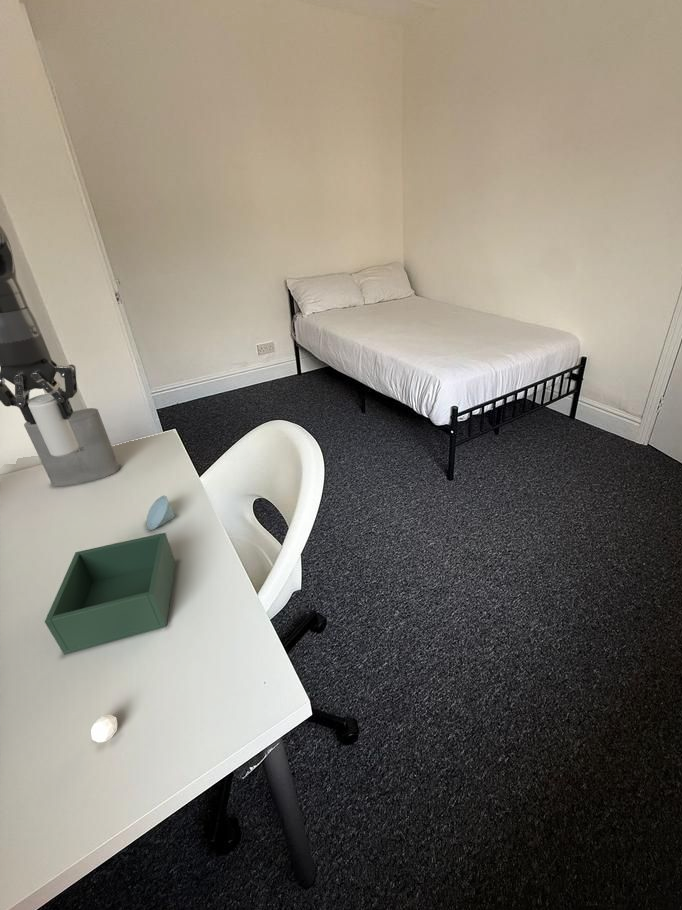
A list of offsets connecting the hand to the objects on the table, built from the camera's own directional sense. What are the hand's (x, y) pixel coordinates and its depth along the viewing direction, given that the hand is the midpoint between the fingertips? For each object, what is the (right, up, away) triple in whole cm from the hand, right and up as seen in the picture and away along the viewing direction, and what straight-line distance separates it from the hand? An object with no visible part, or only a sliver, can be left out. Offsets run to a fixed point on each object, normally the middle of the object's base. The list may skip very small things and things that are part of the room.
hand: (51, 419), depth 81 cm
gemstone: (+16, -23, +10) cm, 30 cm away
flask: (-12, -15, +27) cm, 33 cm away
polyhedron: (+29, -41, -27) cm, 57 cm away
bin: (+20, -32, -9) cm, 39 cm away
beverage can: (0, -7, +3) cm, 8 cm away
